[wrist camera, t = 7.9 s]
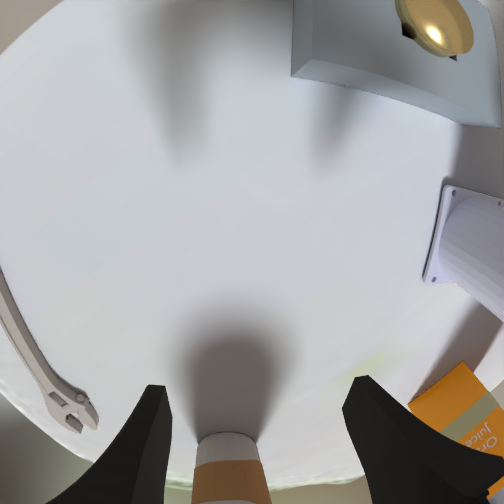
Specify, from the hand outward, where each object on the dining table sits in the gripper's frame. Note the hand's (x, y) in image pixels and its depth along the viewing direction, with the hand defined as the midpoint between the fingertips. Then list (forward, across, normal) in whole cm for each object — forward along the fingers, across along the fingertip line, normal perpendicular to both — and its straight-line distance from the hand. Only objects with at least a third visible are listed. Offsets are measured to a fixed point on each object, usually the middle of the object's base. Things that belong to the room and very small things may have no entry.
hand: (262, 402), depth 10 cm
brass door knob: (+9, -9, -18) cm, 22 cm away
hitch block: (+9, -9, -18) cm, 22 cm away
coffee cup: (+10, +1, +20) cm, 22 cm away
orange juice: (+10, -26, +17) cm, 33 cm away
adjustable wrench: (+10, +19, +7) cm, 22 cm away
